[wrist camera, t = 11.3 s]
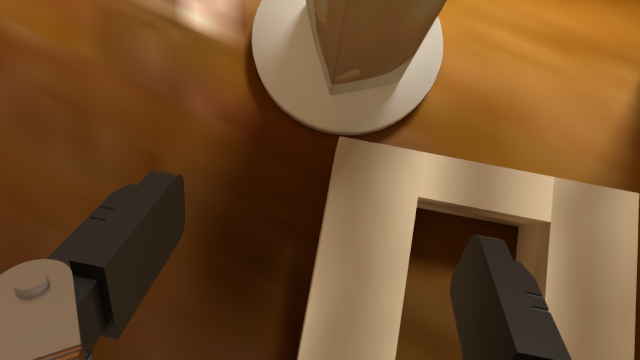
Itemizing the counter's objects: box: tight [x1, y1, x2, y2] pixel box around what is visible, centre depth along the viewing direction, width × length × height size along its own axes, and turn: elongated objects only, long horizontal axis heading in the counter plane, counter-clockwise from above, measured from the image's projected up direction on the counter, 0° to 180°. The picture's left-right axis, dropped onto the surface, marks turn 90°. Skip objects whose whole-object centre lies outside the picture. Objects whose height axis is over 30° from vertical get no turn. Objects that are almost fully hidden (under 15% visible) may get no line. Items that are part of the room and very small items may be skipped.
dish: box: [252, 0, 443, 135], centre depth 24 cm, size 11×11×1 cm
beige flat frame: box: [296, 136, 639, 360], centre depth 20 cm, size 15×13×3 cm
